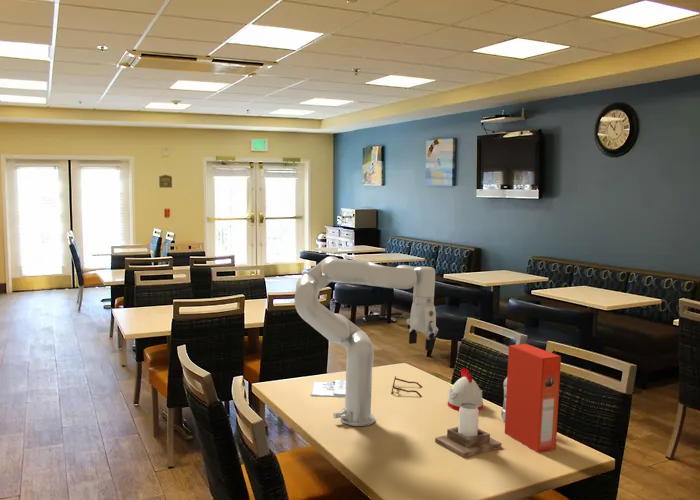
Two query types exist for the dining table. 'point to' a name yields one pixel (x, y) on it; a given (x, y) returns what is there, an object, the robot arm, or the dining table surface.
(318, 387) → the open book
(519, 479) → the dining table surface
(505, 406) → the plastic bottle
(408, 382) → the glasses
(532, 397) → the file binder
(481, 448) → the caddy
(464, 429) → the can
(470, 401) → the kitchen timer
